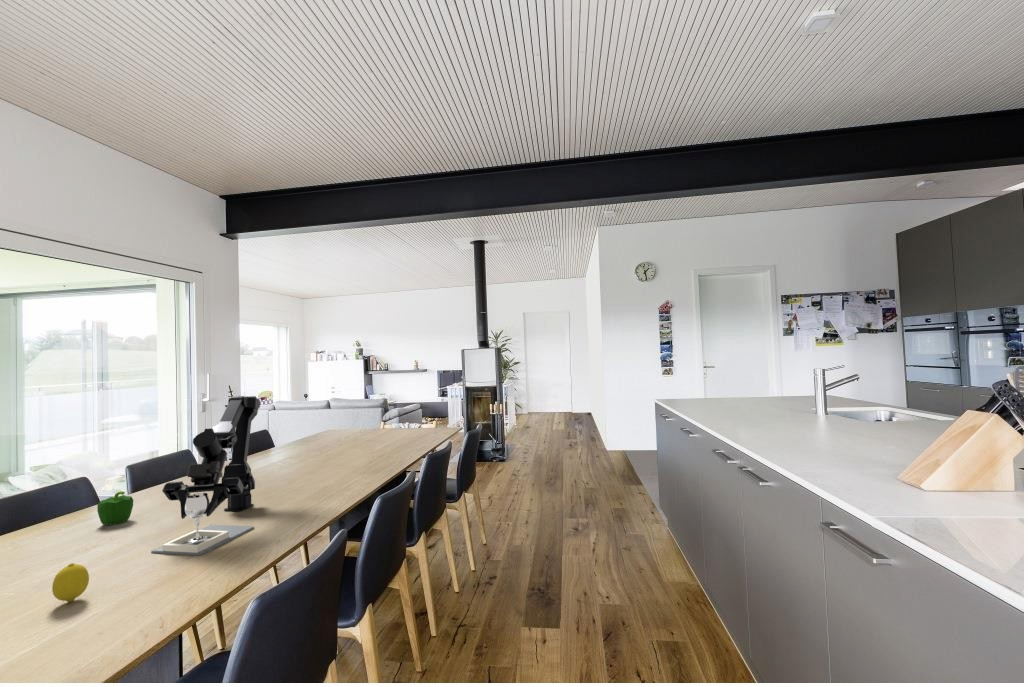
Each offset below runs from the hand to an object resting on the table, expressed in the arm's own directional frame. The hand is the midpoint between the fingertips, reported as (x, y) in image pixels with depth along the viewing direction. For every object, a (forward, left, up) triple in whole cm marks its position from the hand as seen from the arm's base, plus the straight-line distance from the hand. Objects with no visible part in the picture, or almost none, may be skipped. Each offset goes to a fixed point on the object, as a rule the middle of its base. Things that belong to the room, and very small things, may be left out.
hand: (195, 516), depth 122 cm
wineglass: (-1, +1, -7) cm, 7 cm away
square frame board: (-1, +5, -8) cm, 10 cm away
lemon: (-2, -28, -8) cm, 29 cm away
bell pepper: (-43, +14, -8) cm, 47 cm away
